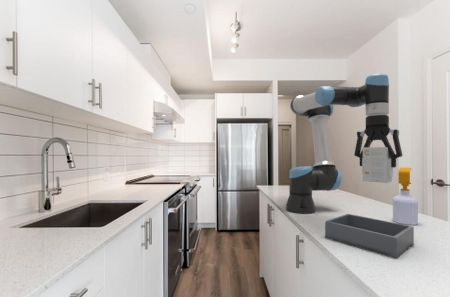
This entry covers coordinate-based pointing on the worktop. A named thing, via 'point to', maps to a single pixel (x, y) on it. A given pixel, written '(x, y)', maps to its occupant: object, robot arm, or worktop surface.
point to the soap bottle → (405, 201)
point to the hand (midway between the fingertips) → (377, 175)
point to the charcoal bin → (371, 234)
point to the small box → (376, 164)
